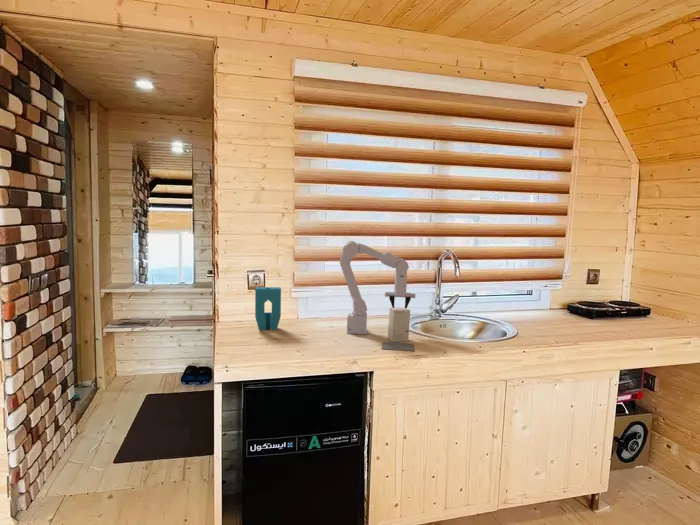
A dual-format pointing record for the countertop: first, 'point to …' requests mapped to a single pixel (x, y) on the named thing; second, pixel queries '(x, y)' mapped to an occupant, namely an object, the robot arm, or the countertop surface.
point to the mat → (398, 346)
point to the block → (261, 297)
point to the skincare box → (398, 324)
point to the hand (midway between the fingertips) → (399, 311)
